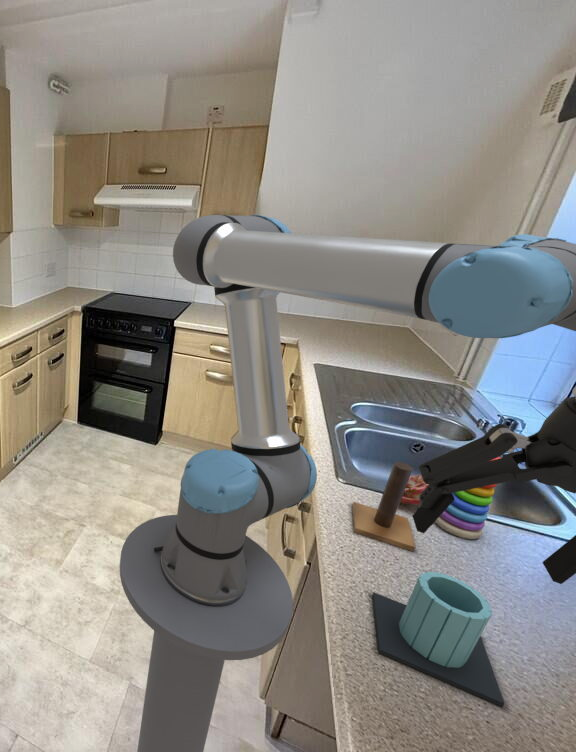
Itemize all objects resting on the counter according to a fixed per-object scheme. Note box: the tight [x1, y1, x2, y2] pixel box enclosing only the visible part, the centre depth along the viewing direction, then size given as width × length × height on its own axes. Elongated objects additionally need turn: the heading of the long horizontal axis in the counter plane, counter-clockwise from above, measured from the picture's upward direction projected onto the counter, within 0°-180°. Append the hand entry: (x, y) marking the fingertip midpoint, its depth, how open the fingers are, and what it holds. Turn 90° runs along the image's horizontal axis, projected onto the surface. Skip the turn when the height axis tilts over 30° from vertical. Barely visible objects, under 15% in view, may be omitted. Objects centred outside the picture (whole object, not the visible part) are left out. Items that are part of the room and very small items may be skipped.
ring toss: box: [351, 461, 416, 552], centre depth 86 cm, size 10×10×16 cm
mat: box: [371, 592, 506, 708], centre depth 64 cm, size 14×12×1 cm
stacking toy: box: [434, 456, 501, 540], centre depth 86 cm, size 8×8×19 cm
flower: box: [400, 473, 429, 507], centre depth 95 cm, size 10×9×8 cm
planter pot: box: [399, 571, 493, 668], centre depth 63 cm, size 8×8×10 cm
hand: (481, 547), depth 51 cm, fingers open, 13 cm apart
